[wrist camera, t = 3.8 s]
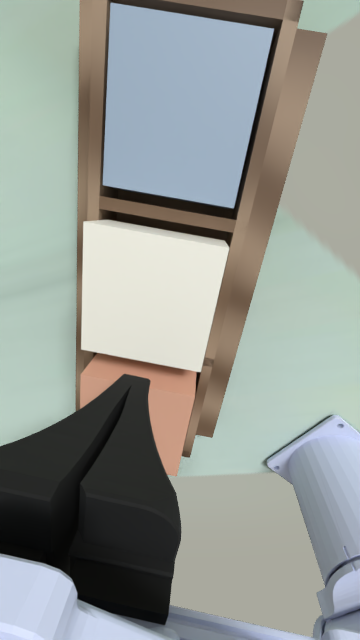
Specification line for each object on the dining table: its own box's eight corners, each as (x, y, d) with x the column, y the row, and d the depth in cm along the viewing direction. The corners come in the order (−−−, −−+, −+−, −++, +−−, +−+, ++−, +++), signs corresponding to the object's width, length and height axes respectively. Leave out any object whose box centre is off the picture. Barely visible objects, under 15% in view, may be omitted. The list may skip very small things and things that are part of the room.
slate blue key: (228, 209, 16) (233, 208, 13) (122, 190, 16) (102, 185, 13) (259, 70, 13) (274, 28, 10) (131, 49, 13) (110, 2, 10)
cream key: (201, 344, 17) (200, 372, 14) (103, 325, 17) (81, 349, 14) (224, 240, 14) (229, 248, 11) (108, 219, 14) (83, 221, 11)
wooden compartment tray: (211, 424, 24) (213, 469, 20) (83, 399, 24) (57, 437, 20) (315, 51, 14) (361, -18, 10) (92, 15, 14) (44, -67, 10)
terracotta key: (181, 436, 20) (176, 476, 17) (97, 420, 20) (78, 456, 17) (197, 365, 17) (195, 396, 14) (101, 347, 17) (80, 374, 15)
